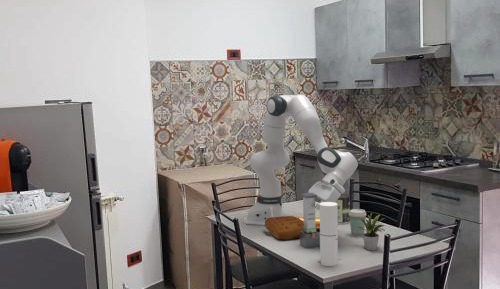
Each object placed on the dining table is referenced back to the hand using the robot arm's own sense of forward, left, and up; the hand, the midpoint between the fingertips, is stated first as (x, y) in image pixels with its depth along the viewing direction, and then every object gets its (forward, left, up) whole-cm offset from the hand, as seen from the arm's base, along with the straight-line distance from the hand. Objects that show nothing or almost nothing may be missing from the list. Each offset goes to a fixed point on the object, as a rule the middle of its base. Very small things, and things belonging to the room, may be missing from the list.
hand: (312, 206), depth 226 cm
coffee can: (+15, +44, -19) cm, 51 cm away
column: (-1, -1, -12) cm, 13 cm away
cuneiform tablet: (-13, +17, -19) cm, 29 cm away
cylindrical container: (+7, -20, -19) cm, 28 cm away
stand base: (-1, -1, -19) cm, 19 cm away
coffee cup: (+22, +20, -19) cm, 35 cm away
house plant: (+25, -1, -19) cm, 31 cm away
